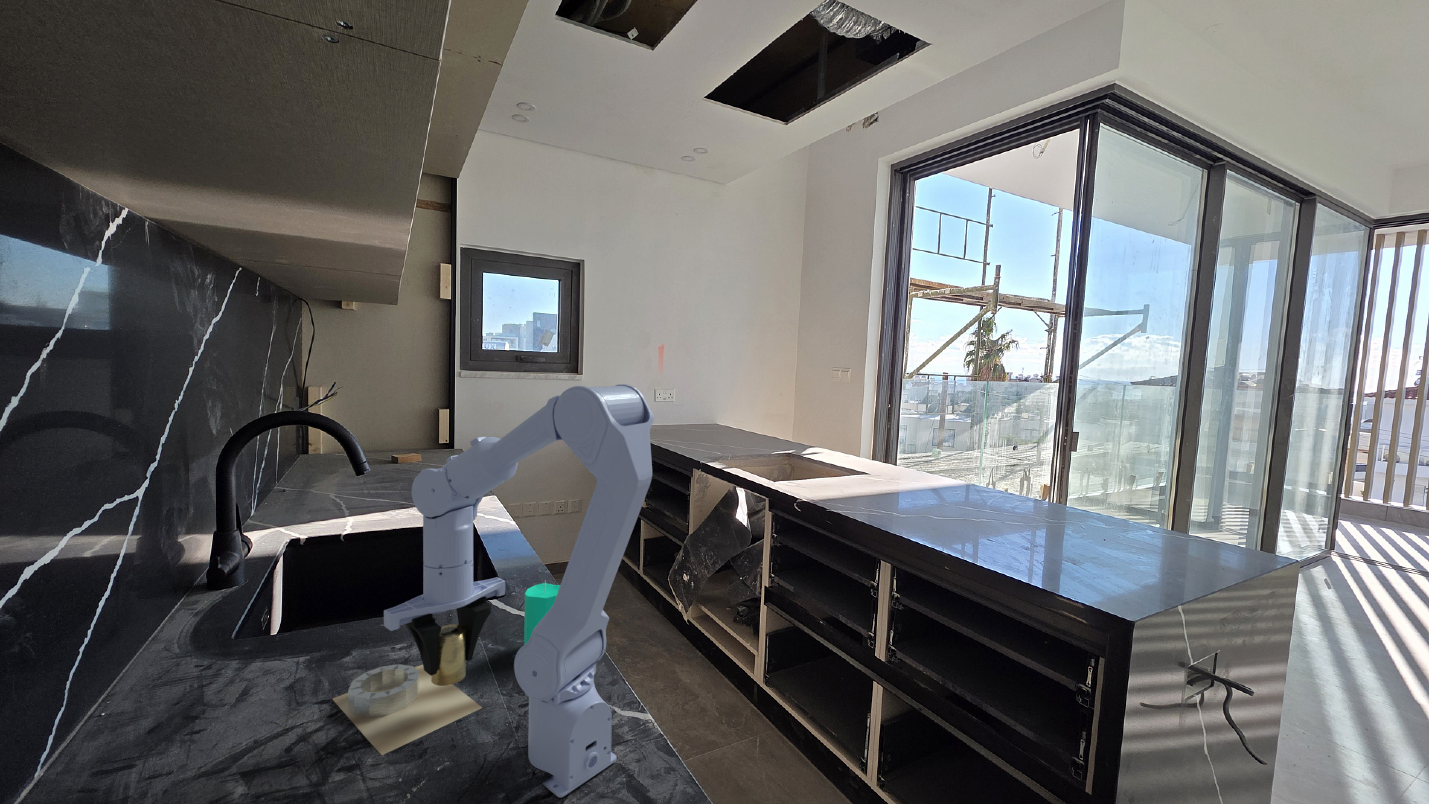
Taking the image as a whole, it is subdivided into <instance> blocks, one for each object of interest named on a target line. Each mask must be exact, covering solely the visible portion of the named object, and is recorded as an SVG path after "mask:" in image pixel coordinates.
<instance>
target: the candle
mask: <svg viewBox="0 0 1429 804" xmlns="http://www.w3.org/2000/svg"><path fill="white" fill-rule="evenodd" d="M560 585H561V584H551V583H548V582H547V581H546V580H544V582H543V583H538V584H535V585H533V586H531V587H528V588H527V590H526V591H525V592H524V621H523V622H524V625H523V626H524V628H523V629H524V631H523V632H524V633H523V637H524V638H523V646H524V645H525V644H526V643H527V642H528V641H529V639H530V637H531V634H532V632H533V629H534V628H535V627H536V626H537V624H538V623H539V622H540V621H541V620H542V618H543V617H544V616H545V615H546V614H547V612H548V611H549V610H550V609H551V608H552V606H553V605H554V602H555V599H556V596H557V593H558V591H559V588H560Z"/></svg>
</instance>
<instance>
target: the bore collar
mask: <svg viewBox="0 0 1429 804" xmlns="http://www.w3.org/2000/svg"><path fill="white" fill-rule="evenodd" d="M390 687H396V688H394V689H391V690H389V691H384V692H378V693H373V692H375V691H378V690H380V689H383V688H390ZM347 693H348V709H349V710H350V711H351V712H352V714H353V715H354V716H359V717H365V718H373V717H379V716H385V715H390V714H392V713H394V712H397V711H399V710H402V709H404V708H406V707H407V706H409V705H410V704H411V703H412V702H413V701H414V700H416V699H417V697H418V693H419V671H418V670H417V669H415V667H414V666H413V665H406V664H400V663H399V664H397V663H396V664H392V665H385V666H380V667H375V668H374V669H371V670H368V671H366V672H363V673H362V674H361V675H359V676H358V677H356V678H355V679H353V680H352V681H351V683H350V685H349V688H348V691H347Z"/></svg>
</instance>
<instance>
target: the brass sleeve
mask: <svg viewBox="0 0 1429 804" xmlns="http://www.w3.org/2000/svg"><path fill="white" fill-rule="evenodd" d="M440 626H441V627H442V628H441V631H440V635H439V641H438V650H437V654H438V669H437V674H435V675H432V676H431V682H432V683H433V684H435V685H438V686H446V685H451V684H453V685H454V684H457V683H458V682H460V681H462V680H463V679H464V678H465V677H466V674H467V672H466V670H467V669H466V668H467V667H466V666H467V664H466V663H467V661H466V628H465V627H464V626H463V625H459V623H457V624H456V623H455V624H454V623H452V624H451V623H450V624H445V625H440Z"/></svg>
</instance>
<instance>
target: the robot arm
mask: <svg viewBox="0 0 1429 804" xmlns="http://www.w3.org/2000/svg"><path fill="white" fill-rule="evenodd" d="M654 421H655V415H654V413H653V411H652V409H651V407H650V405H649V403H648V402H647V400H646V398H645V396H644V394H642V392H641V391H640V390H639V389H638V388H637V387H635V386H633V385H630V384H627V383H626V384H625V383H624V384H623V383H621V384H615V385H607V386H585V385H575V386H572V387H568V388H567V389H565V390H564V391H563V392H562V393H561V394H559V395H556V396H555V395H554V396H552V397H551V398H549V399H547V402H546V403H545V404H544V406H543V407H541V408H540V409H539V410H537V411H536V412H534V413H533V414H532V415H531V416H530V417H528V418H527V419H525V420H524V421H522V422H521V423H520V424H519V425H517V426H516V427H515V428H513V429H512V430H511V431H509V432H508V433H506V434H505V435H503V437H502V438H500V437H497V436H479V437H478V436H477V437H475V438H473V439H472V440H470V442H469V443H470V445H471V447H469V448H467V449H465V450H464V451H463V452H461V453H460V454H457V455H451V456H449V457H448V458H446V460H445V461H446V463H445V464H443V465H442V467H439V468H430V467H429V468H424V469H422V470H421V471H420V473H419V474H418V475H416V476H415V478H414V480H413V482H412V484H411V498H412V502H413V504H414V507H415V508H416V510H417V511H418V512H419V513H420V514H421V515H422V522H423V523H422V524H423V525H422V526H423V527H422V532H423V533H422V536H423V537H422V538H423V539H422V540H423V541H422V542H423V544H422V545H423V548H422V549H423V550H422V552H423V554H422V555H423V557H422V558H423V559H422V562H423V563H422V564H423V566H422V567H423V576H422V577H423V582H422V585H423V587H422V588H423V594H421V595H420V594H419V595H418V596H416V597H414V598H411V599H410V600H407V601H405V602H403V603H401V604H398V605H396V606H393V607H390V608H387V609H384V610H383V626H384V627H385V628H386V629H387V630H389V631H391V632H392V631H395V630H399V629H400V628H401V626H403V625H405V626H406V628H407V629H408V631H409V633H410V635H411V637H412V638H413V640H414V642H415V644H416V647H417V650H418V652H419V654H420V658H421V661H422V665H423V667H424V671H426V672H427V673H428V674H429V675H431V676H432V675H435V674H437V669H438V654H437V650H438V641H439V635H440V631H441V628H442V627H441V626H442V625H439V623H436V618H434V616H435V615H438V614H441V613H444V612H447V611H451V610H452V611H453V610H456V613H457V614H456V615H457V620H458V621H457V622H458V623H457V624H459V625H463V626H464V627H465V628H466V662H470V661H471V660H473V658H474V654H475V653H474V652H475V649H476V645H477V642H478V640H479V639H478V638H479V636H480V634H481V631H482V630H483V629H482V628H483V627H484V625H485V623H486V621H487V619H488V617H489V616H490V614H491V613H492V604H491V603H490V602H488V601H487V599H488V598H492V597H494V596H496V597H501V596H504V595H506V580H504V579H502V578H500V577H497V576H496V577H493V578H489V579H484V580H478V581H474V521H475V520H476V518H477V517H478V507H479V504H480V503H481V502H482V500H483V499H484V495H486V494H487V493H489V492H491V491H492V490H495V489H496V488H497V487H498V486H500V485H502V484H504V483H506V482H507V481H509V480H510V479H512V478H514V476H515V475H516V473H517V469H518V465H519V464H518V463H519V462H521V461H522V460H524V459H526V458H528V457H530V456H531V455H533V454H534V453H537V452H539V451H540V450H542V449H545V448H546V447H548V446H549V445H551V444H553V443H554V442H558V441H562V440H563V442H564V443H565V444H566V445H567V447H568V448H569V449H570V450H571V451H572V453H573V454H574V455H575V456H576V457H577V459H578V460H579V461H580V462H581V463H582V464H583V466H584V467H585V468H586V469H587V470H588V471H589V473H590V474H592V475H593V476H594V478H595V480H596V485H595V487H594V490H593V494H592V496H591V499H590V501H589V504H588V507H587V510H586V512H585V515H584V519H583V521H582V523H581V527H580V530H579V531H578V535H577V537H576V541H575V543H574V547H573V549H572V552H571V555H570V557H569V560H568V563H567V565H566V569H565V572H564V574H563V577H562V580H561V583H560V584H559V585H560V588H559V591H558V593H557V596H556V599H555V602H554V605H553V606H552V608H551V609H550V610H549V611H548V612H547V614H546V615H545V616H544V617H543V618H542V620H541V621H540V622H539V623H538V624H537V626H536V627H535V628H534V629H533V632H532V634H531V637H530V639H529V641H528V642H527V643H526V644H525V645H524V644H523V645H522V646H521V647H520V648H519V649H518V650H517V652H516V654H515V657H514V661H513V670H514V671H513V672H514V675H515V679H516V681H517V683H518V685H519V687H520V688H521V690H522V691H523V692H524V695H525V696H527V697H528V736H527V737H528V741H527V742H528V743H527V745H528V746H527V747H528V748H527V749H528V751H527V755H528V760H529V762H530V764H531V765H532V766H533V767H535V768H536V769H539V770H541V771H544V772H547V773H548V774H550V775H552V777H550V778H549V779H547V780H546V781H543V782H542V783H541V784H542V785H543V786H544V787H546V788H547V790H549V791H550V792H551V793H553V794H554V795H555V796H556V797H558V798H563V797H565V796H567V795H568V794H570V793H571V792H572V791H574V790H576V789H577V788H578V787H580V786H581V785H583V784H584V783H586V782H587V781H589V780H590V779H591V778H593V777H594V776H596V775H597V774H599V773H601V772H602V771H604V770H605V769H606V768H608V767H609V766H610V765H612V764H615V762H616V761H617V755H616V754H614V753H613V752H612V731H613V730H612V729H613V728H612V727H613V726H612V725H613V722H612V721H613V717H612V716H613V714H612V710H611V708H610V705H609V704H608V703H607V702H606V701H605V700H603V698H602V697H601V696H600V694H599V693H598V691H597V689H596V686H595V685H596V684H595V681H594V680H595V679H594V678H595V674H596V672H597V662H598V661H600V660H601V658H602V657H603V655H604V654H605V652H606V650H607V634H606V633H607V626H608V624H609V621H610V617H609V616H608V614H607V613H606V611H604V607H605V604H606V602H607V599H608V597H609V593H610V592H611V589H612V586H613V583H614V580H615V578H616V575H617V573H618V570H619V567H620V566H621V561H622V560H623V557H624V554H625V552H626V549H627V547H628V544H629V541H630V539H631V535H632V533H633V530H634V529H635V525H636V523H637V520H638V517H639V515H640V512H641V509H642V506H643V504H644V501H645V499H646V495H647V494H648V490H649V488H650V486H651V482H652V478H653V465H652V460H653V459H652V449H651V448H652V447H651V436H650V435H651V434H650V433H651V428H652V426H653V424H654Z"/></svg>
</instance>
